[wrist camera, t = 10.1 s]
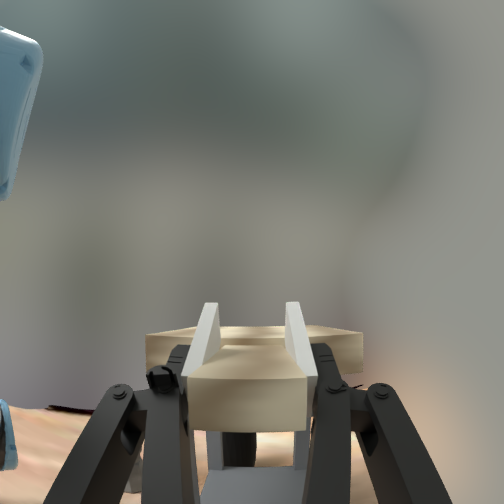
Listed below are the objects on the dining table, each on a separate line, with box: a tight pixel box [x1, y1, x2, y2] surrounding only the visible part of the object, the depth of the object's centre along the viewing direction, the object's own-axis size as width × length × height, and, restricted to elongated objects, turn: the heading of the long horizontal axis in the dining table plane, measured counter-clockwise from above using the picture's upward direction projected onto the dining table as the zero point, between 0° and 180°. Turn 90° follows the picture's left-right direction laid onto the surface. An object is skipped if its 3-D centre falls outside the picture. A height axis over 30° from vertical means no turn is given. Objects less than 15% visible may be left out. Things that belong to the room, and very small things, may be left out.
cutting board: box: [145, 325, 363, 432], centre depth 24 cm, size 16×31×3 cm, turn 179°
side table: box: [187, 412, 313, 504], centre depth 32 cm, size 18×24×30 cm
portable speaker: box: [222, 432, 257, 467], centre depth 54 cm, size 9×9×20 cm
